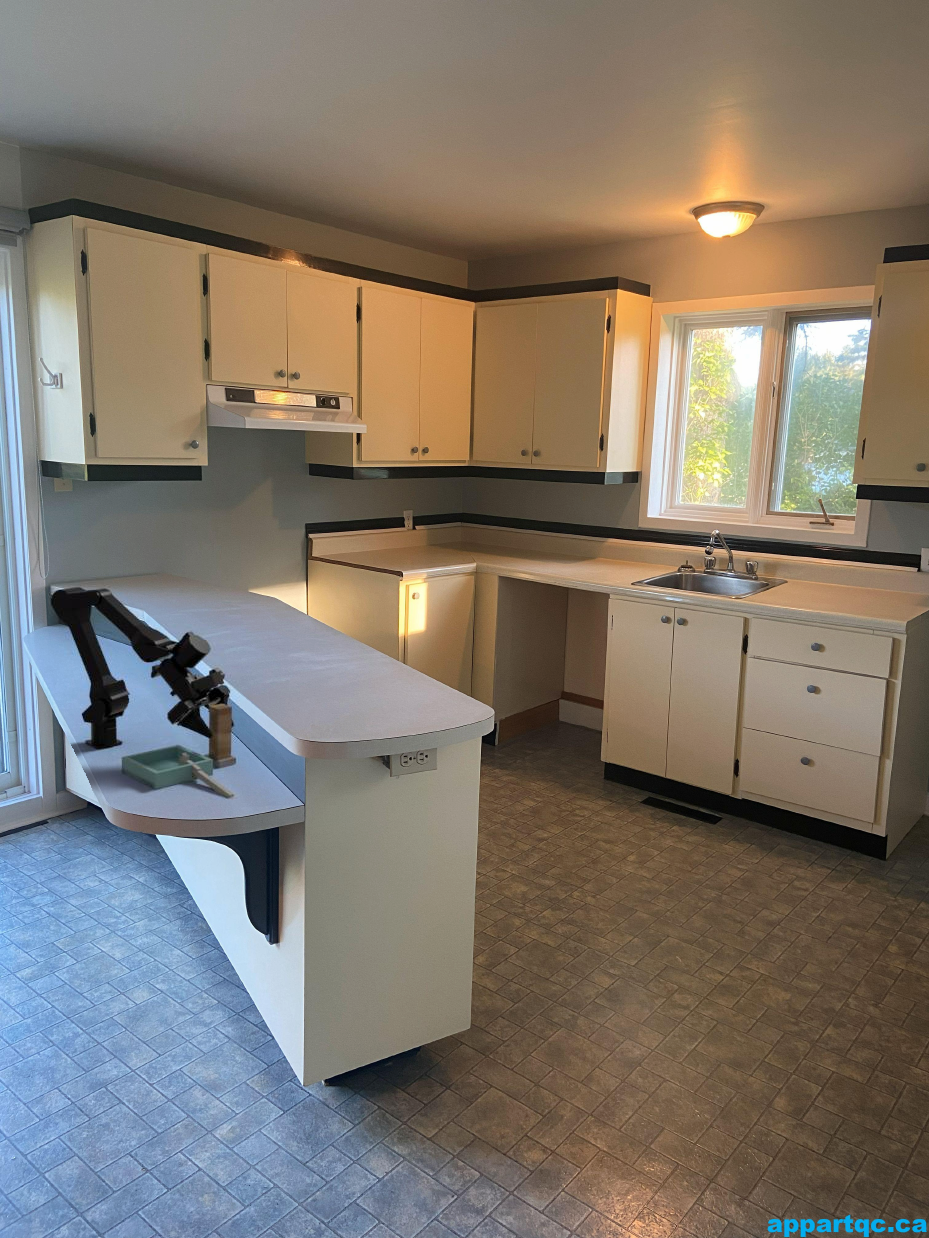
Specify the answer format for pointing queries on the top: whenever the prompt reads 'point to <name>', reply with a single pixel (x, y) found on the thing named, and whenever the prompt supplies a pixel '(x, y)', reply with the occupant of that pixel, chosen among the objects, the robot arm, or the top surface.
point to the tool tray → (164, 766)
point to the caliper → (205, 777)
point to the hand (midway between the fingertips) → (222, 731)
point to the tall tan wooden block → (220, 735)
